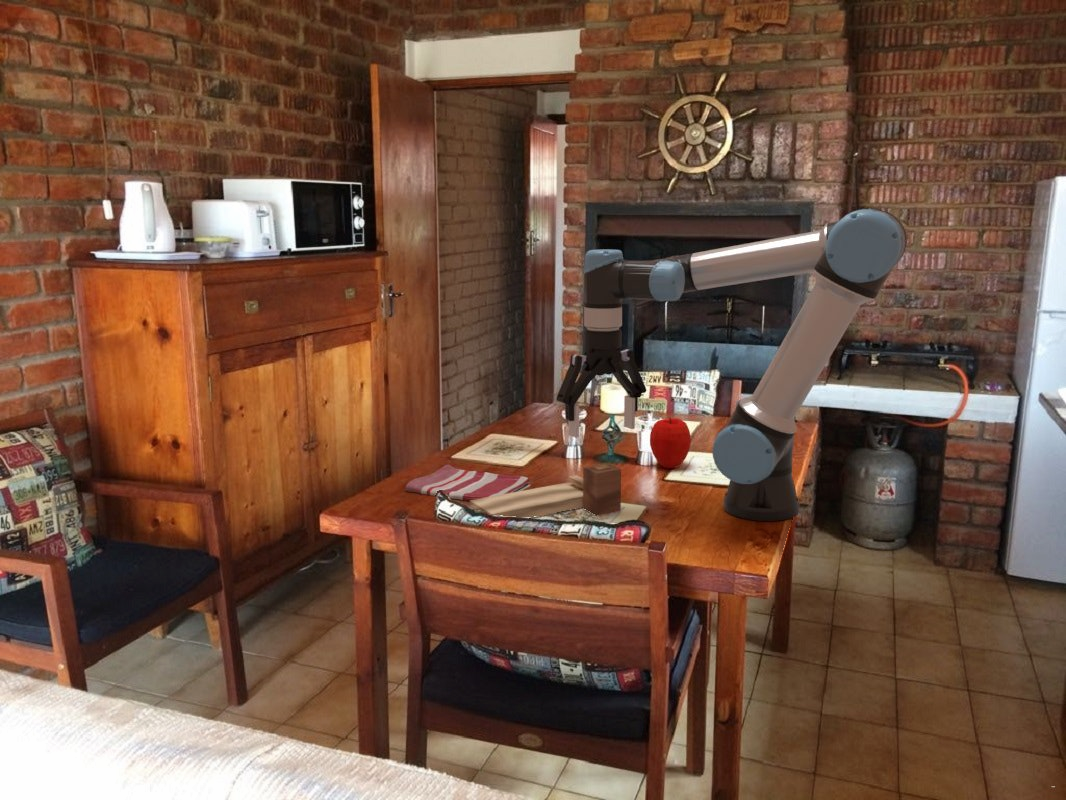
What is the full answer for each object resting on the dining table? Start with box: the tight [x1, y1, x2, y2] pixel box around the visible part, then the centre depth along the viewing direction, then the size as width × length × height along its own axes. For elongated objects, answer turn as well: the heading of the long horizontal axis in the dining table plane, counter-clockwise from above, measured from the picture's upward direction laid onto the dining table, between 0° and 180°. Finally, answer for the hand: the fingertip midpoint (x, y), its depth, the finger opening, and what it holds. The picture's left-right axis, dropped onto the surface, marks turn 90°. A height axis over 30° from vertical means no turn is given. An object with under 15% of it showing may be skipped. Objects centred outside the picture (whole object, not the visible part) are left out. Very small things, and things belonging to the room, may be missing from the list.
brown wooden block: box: [567, 463, 622, 517], centre depth 190 cm, size 14×6×9 cm, turn 30°
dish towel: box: [405, 464, 531, 503], centre depth 202 cm, size 17×23×3 cm
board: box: [469, 482, 583, 519], centre depth 189 cm, size 10×28×2 cm, turn 120°
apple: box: [649, 417, 692, 469], centre depth 217 cm, size 10×10×12 cm
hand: (602, 432), depth 184 cm, fingers open, 13 cm apart
